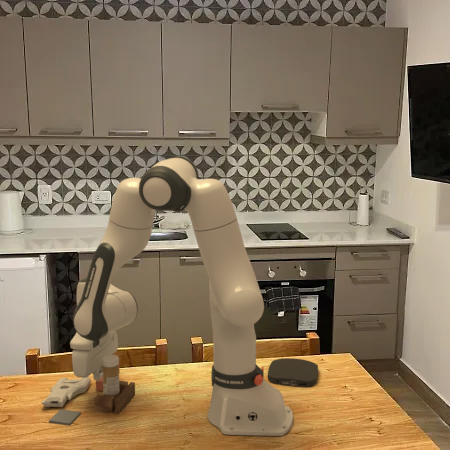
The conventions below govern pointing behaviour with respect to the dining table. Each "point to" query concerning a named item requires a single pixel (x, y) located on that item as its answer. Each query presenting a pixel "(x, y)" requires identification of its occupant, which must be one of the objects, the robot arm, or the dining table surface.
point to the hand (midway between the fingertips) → (98, 378)
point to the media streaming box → (293, 372)
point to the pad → (65, 417)
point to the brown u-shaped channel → (110, 403)
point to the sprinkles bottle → (111, 375)
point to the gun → (65, 391)
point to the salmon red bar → (100, 384)
